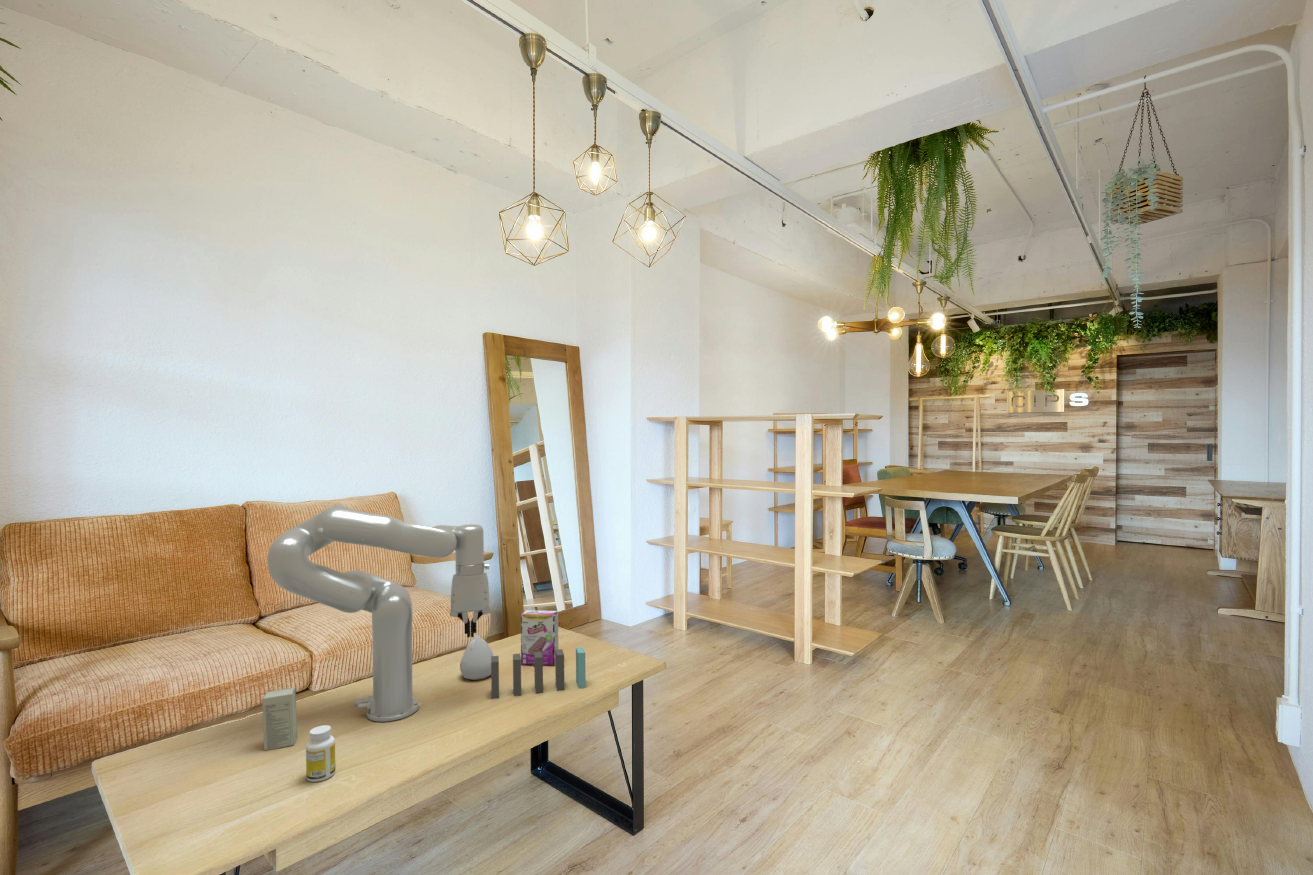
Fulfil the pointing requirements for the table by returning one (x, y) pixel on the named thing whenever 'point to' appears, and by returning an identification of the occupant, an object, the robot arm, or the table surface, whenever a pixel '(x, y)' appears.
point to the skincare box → (279, 718)
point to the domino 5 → (580, 668)
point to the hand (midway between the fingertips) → (470, 635)
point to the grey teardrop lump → (476, 660)
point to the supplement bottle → (320, 754)
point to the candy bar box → (539, 636)
